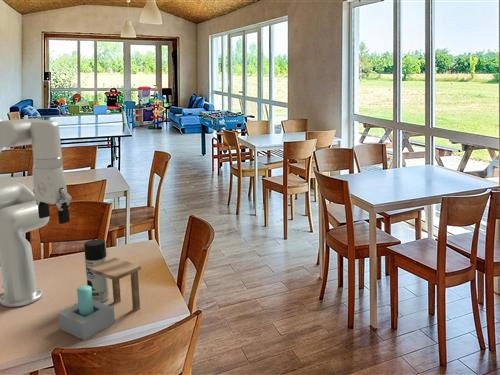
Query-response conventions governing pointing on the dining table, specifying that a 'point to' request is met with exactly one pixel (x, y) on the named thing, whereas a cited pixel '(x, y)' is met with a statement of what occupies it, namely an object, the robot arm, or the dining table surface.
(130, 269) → the board on two legs
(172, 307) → the dining table surface
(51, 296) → the dining table surface
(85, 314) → the peg
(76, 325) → the socket block
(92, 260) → the spray can
